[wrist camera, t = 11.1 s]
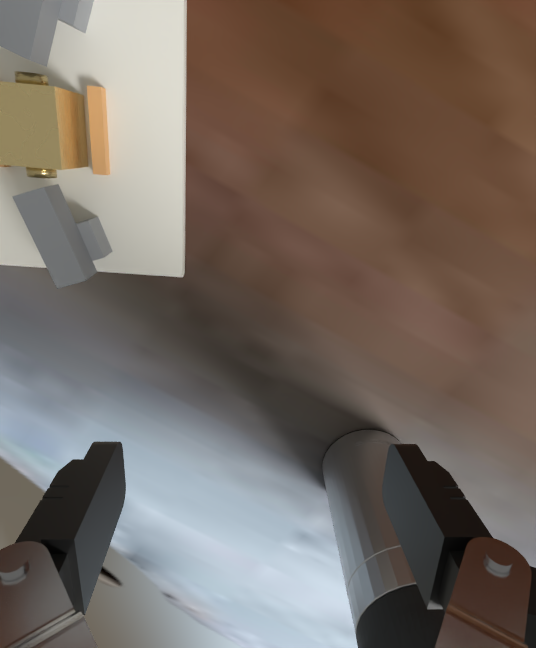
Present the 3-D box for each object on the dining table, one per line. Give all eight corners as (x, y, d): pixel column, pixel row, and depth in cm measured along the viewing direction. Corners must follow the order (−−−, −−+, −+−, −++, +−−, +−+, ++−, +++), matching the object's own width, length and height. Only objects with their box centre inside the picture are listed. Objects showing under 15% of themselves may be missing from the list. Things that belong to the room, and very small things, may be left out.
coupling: (12, 75, 31) (-30, 63, 27) (82, 82, 32) (53, 71, 27) (24, 172, 34) (-13, 175, 29) (89, 177, 34) (63, 182, 30)
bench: (184, 275, 39) (173, 296, 33) (-48, 259, 38) (-98, 278, 32) (186, -35, 30) (171, -74, 25) (-113, -67, 29) (-196, -115, 24)
